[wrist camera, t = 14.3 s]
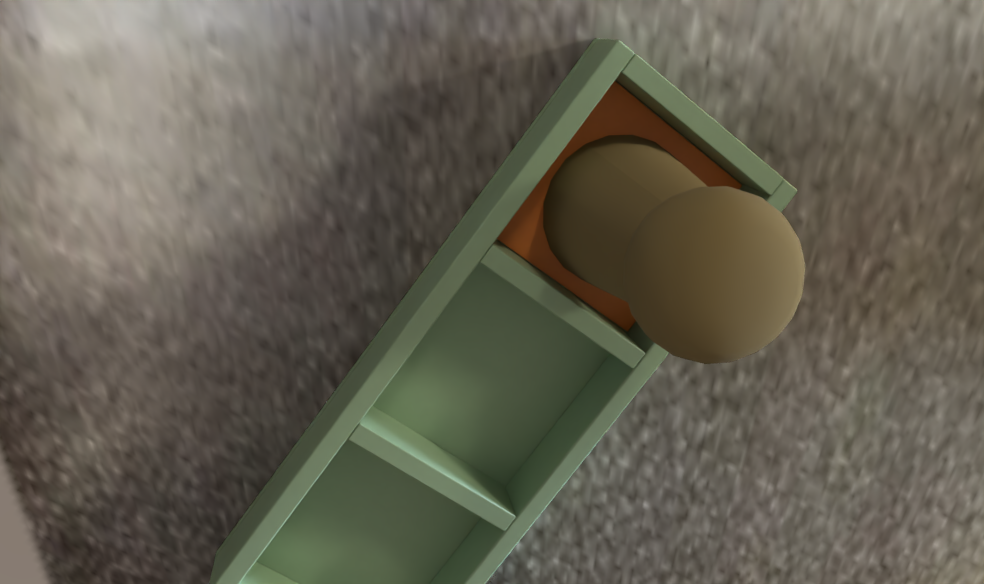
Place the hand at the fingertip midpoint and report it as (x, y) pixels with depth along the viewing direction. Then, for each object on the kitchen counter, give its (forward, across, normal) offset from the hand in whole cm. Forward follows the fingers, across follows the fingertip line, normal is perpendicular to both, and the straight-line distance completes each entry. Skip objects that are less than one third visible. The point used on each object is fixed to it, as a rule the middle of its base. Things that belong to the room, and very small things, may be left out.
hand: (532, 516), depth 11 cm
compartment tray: (+24, +2, -8) cm, 26 cm away
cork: (+24, +8, -3) cm, 25 cm away
